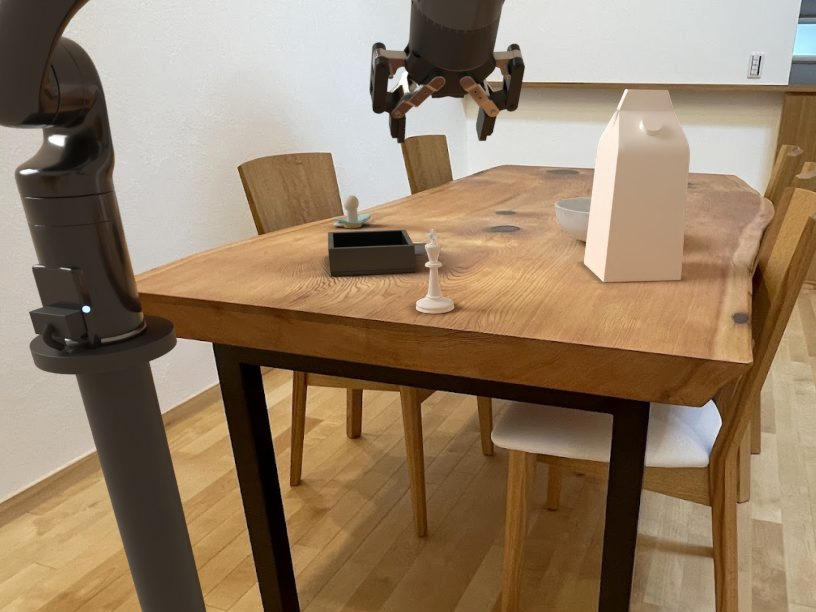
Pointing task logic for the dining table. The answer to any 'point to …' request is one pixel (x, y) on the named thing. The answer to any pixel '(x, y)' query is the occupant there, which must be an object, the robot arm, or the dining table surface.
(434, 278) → the chess piece
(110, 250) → the robot arm
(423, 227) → the dining table surface
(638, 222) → the milk
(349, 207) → the pacifier
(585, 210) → the serving bowl
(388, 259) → the dark grey open box
